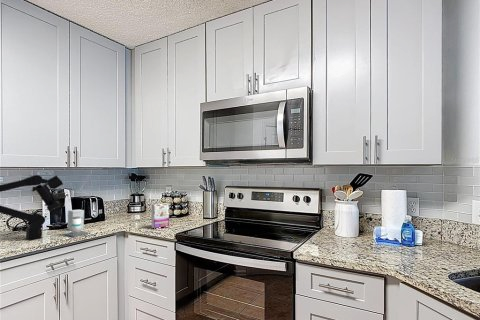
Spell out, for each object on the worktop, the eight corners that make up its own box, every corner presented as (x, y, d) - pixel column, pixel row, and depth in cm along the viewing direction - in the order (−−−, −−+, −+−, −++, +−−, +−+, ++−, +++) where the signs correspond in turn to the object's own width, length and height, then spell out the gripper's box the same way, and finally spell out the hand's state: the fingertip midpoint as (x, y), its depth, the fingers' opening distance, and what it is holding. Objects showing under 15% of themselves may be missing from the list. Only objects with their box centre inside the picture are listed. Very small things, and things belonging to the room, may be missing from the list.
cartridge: (72, 234, 163) (73, 217, 164) (71, 233, 167) (71, 216, 167) (81, 233, 167) (82, 217, 167) (79, 231, 170) (80, 216, 170)
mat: (73, 237, 161) (73, 235, 161) (64, 235, 165) (64, 233, 165) (88, 234, 169) (88, 232, 169) (79, 232, 173) (79, 230, 173)
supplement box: (71, 230, 178) (72, 211, 179) (67, 229, 183) (67, 210, 183) (83, 228, 184) (84, 210, 184) (79, 227, 189) (79, 209, 189)
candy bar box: (166, 226, 194) (166, 203, 195) (169, 227, 190) (169, 203, 191) (150, 228, 187) (151, 204, 188) (153, 229, 183) (154, 205, 184)
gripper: (61, 188, 159) (75, 210, 164) (58, 184, 174) (71, 204, 179) (40, 199, 153) (56, 221, 159) (39, 194, 168) (53, 214, 173)
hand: (60, 214), depth 167 cm, fingers open, 9 cm apart
